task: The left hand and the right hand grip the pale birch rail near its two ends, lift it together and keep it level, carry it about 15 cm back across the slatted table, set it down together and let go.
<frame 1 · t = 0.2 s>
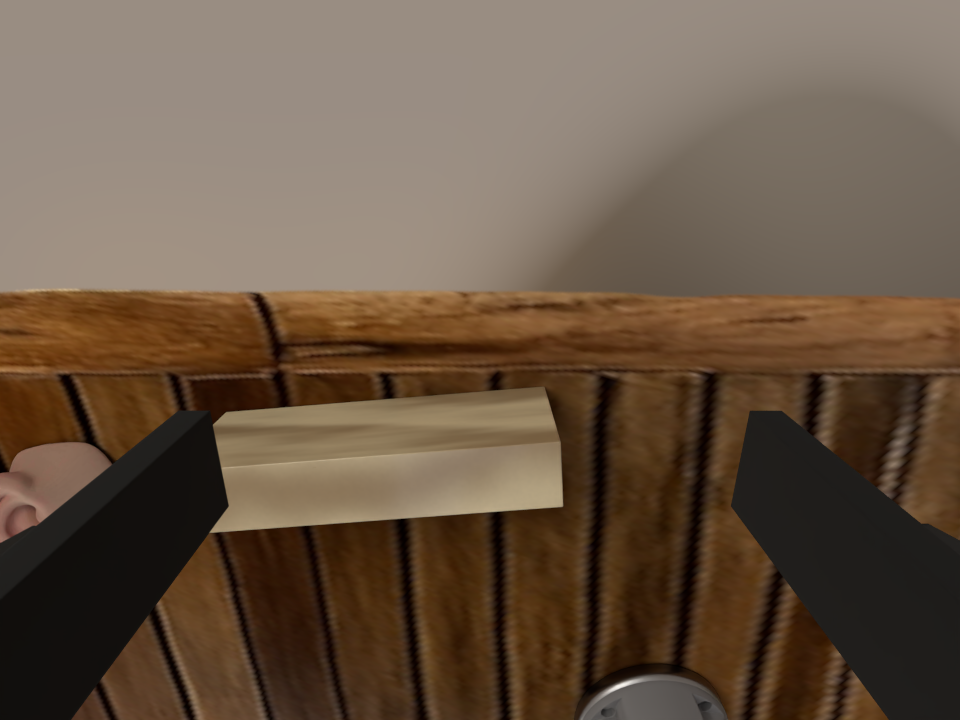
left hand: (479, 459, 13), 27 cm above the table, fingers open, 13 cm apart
birch rail: (388, 426, 43), on the table
anatomical model: (68, 503, 46), on the table
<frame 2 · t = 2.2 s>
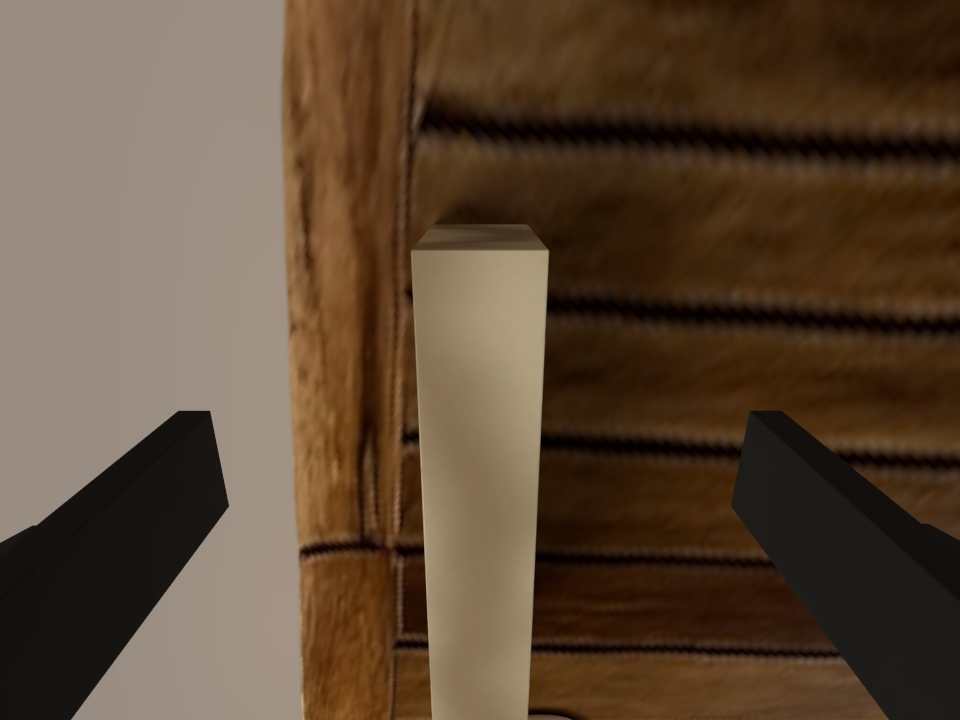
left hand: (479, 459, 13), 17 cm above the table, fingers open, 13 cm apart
birch rail: (480, 443, 32), on the table
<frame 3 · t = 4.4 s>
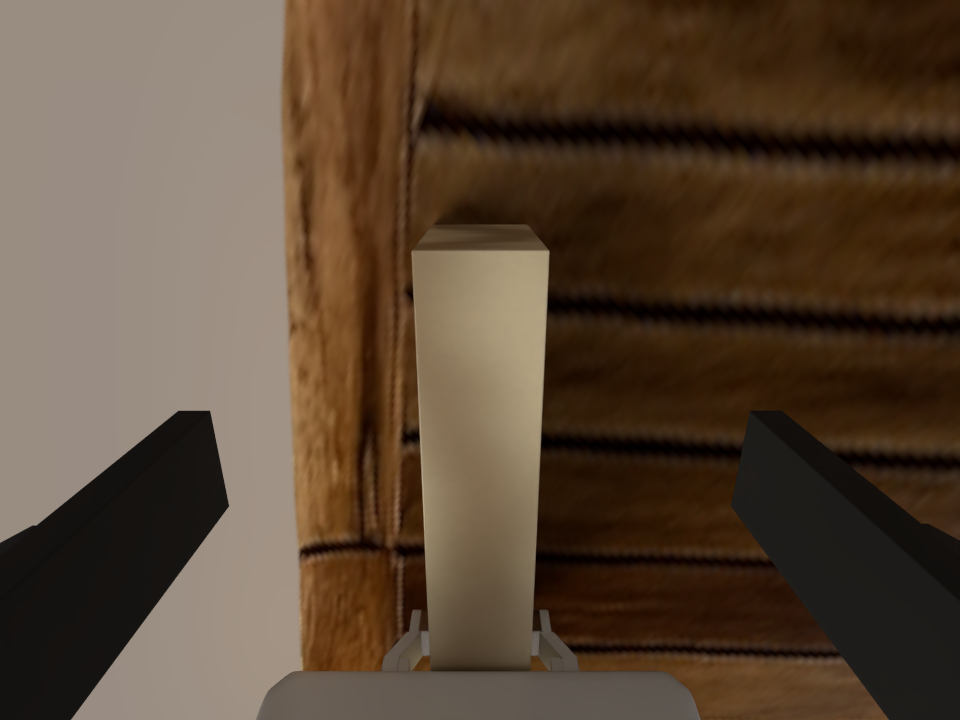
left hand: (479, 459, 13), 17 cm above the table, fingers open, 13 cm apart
birch rail: (480, 443, 32), on the table, touching right hand
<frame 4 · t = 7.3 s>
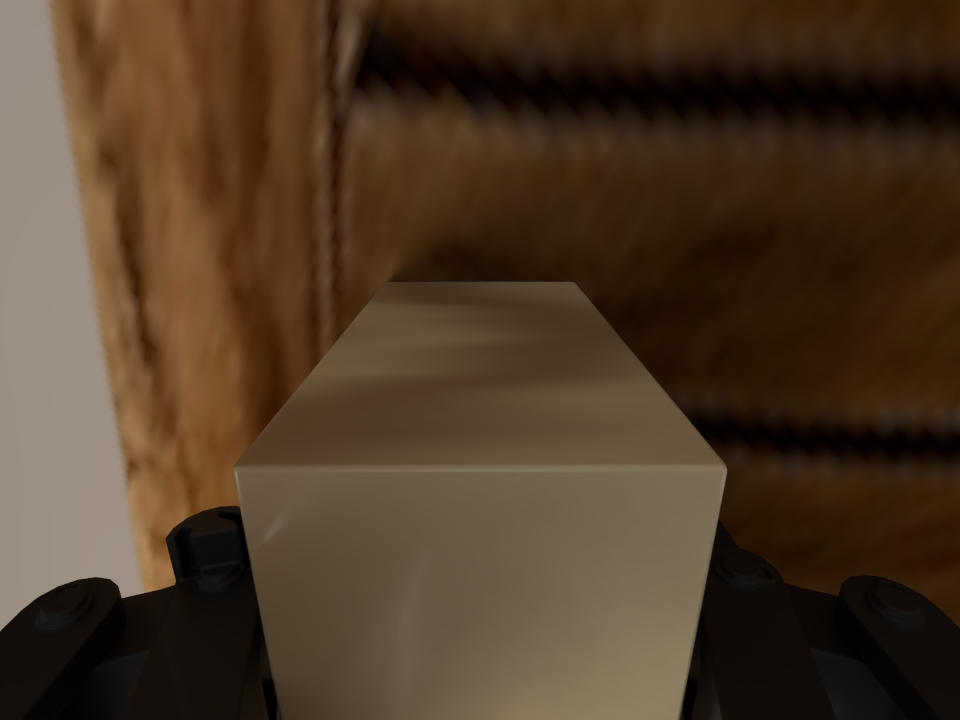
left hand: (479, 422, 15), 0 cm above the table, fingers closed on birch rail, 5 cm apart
birch rail: (479, 650, 18), on the table, touching left hand, right hand
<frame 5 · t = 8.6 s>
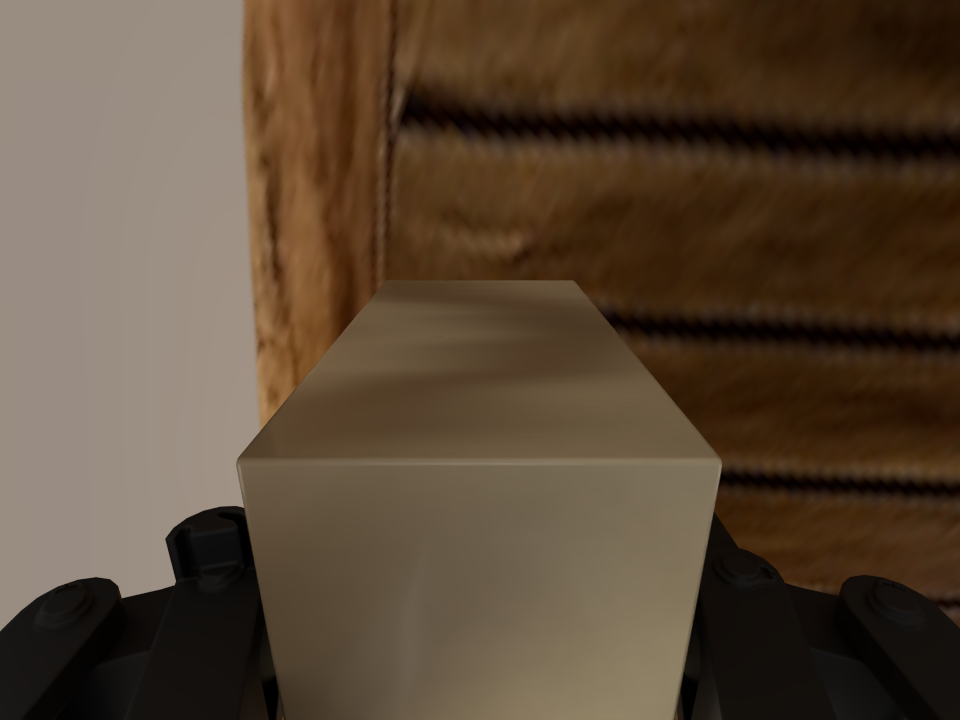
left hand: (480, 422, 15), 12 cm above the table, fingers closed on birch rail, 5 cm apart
birch rail: (479, 648, 18), point 11 cm above the table, touching left hand, right hand
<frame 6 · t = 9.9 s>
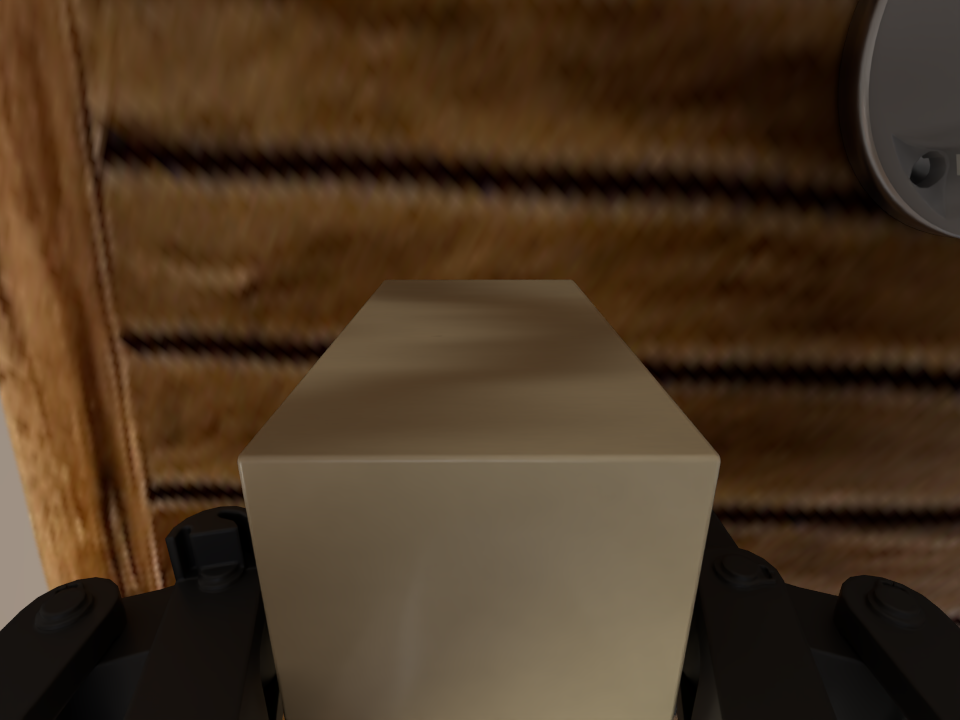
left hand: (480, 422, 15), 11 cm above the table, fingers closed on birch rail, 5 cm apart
birch rail: (479, 647, 18), point 11 cm above the table, touching left hand, right hand
when the left hand's fingers open (2 cm above the table, at t = 12.5 s): birch rail drops 1 cm, on the table.
when the right hand's fingers open (6 cm above the table, at t = 12.7 s): birch rail stays where it is, on the table.
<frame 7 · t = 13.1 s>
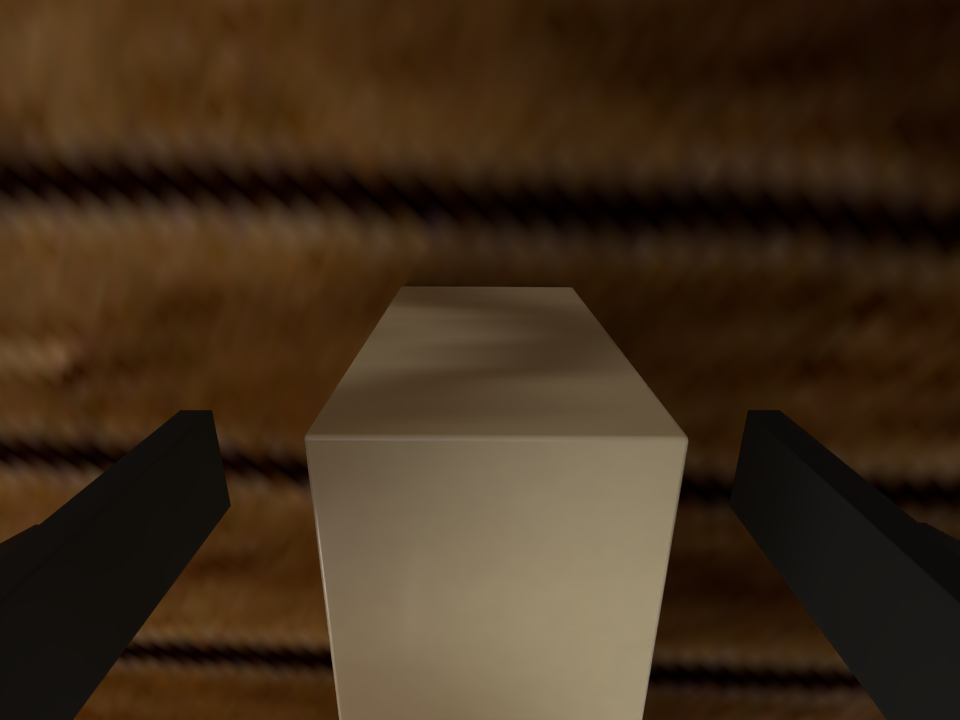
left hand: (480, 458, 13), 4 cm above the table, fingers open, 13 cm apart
birch rail: (482, 626, 20), on the table
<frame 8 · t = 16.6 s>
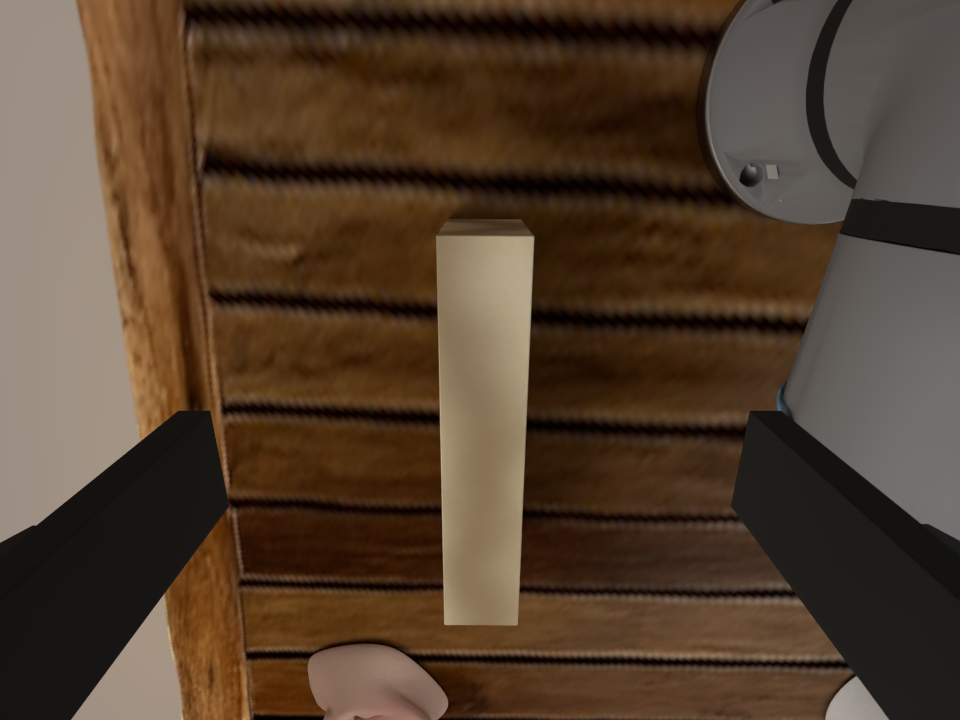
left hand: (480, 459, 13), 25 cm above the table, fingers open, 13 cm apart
birch rail: (482, 396, 39), on the table
anatomical model: (375, 687, 50), on the table
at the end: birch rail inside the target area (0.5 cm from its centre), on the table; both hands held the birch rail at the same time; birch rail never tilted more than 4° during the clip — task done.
